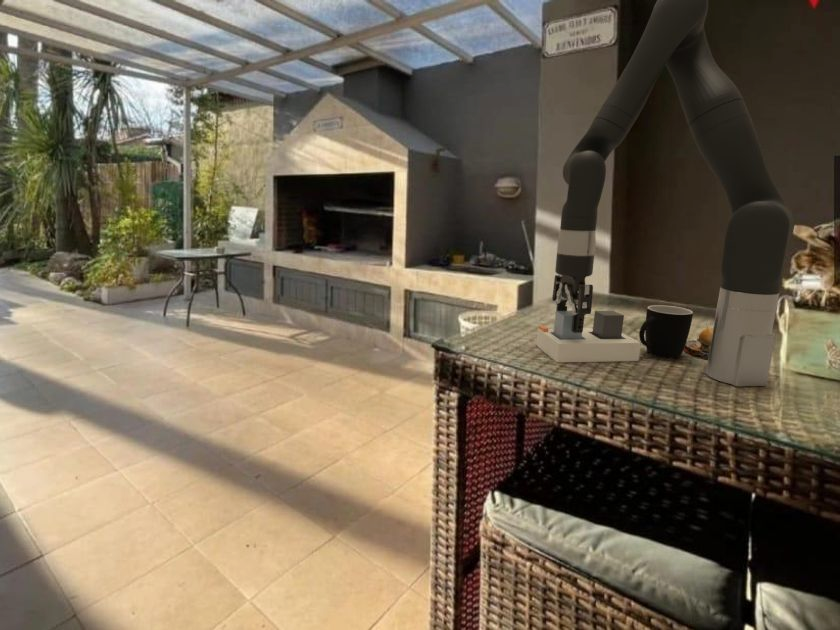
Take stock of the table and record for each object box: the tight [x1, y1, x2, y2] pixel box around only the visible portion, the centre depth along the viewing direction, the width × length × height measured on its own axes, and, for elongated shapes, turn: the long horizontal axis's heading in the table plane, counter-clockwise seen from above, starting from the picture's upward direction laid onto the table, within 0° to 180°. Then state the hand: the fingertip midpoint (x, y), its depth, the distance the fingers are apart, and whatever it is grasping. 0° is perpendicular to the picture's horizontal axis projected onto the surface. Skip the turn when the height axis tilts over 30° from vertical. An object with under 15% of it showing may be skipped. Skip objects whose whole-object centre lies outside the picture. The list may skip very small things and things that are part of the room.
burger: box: [683, 323, 713, 361], centre depth 110 cm, size 12×12×8 cm
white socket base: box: [536, 310, 642, 363], centre depth 108 cm, size 12×18×9 cm, turn 97°
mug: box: [638, 304, 694, 359], centre depth 108 cm, size 12×9×10 cm
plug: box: [553, 310, 582, 340], centre depth 107 cm, size 4×4×8 cm
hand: (568, 327), depth 107 cm, fingers open, 8 cm apart
